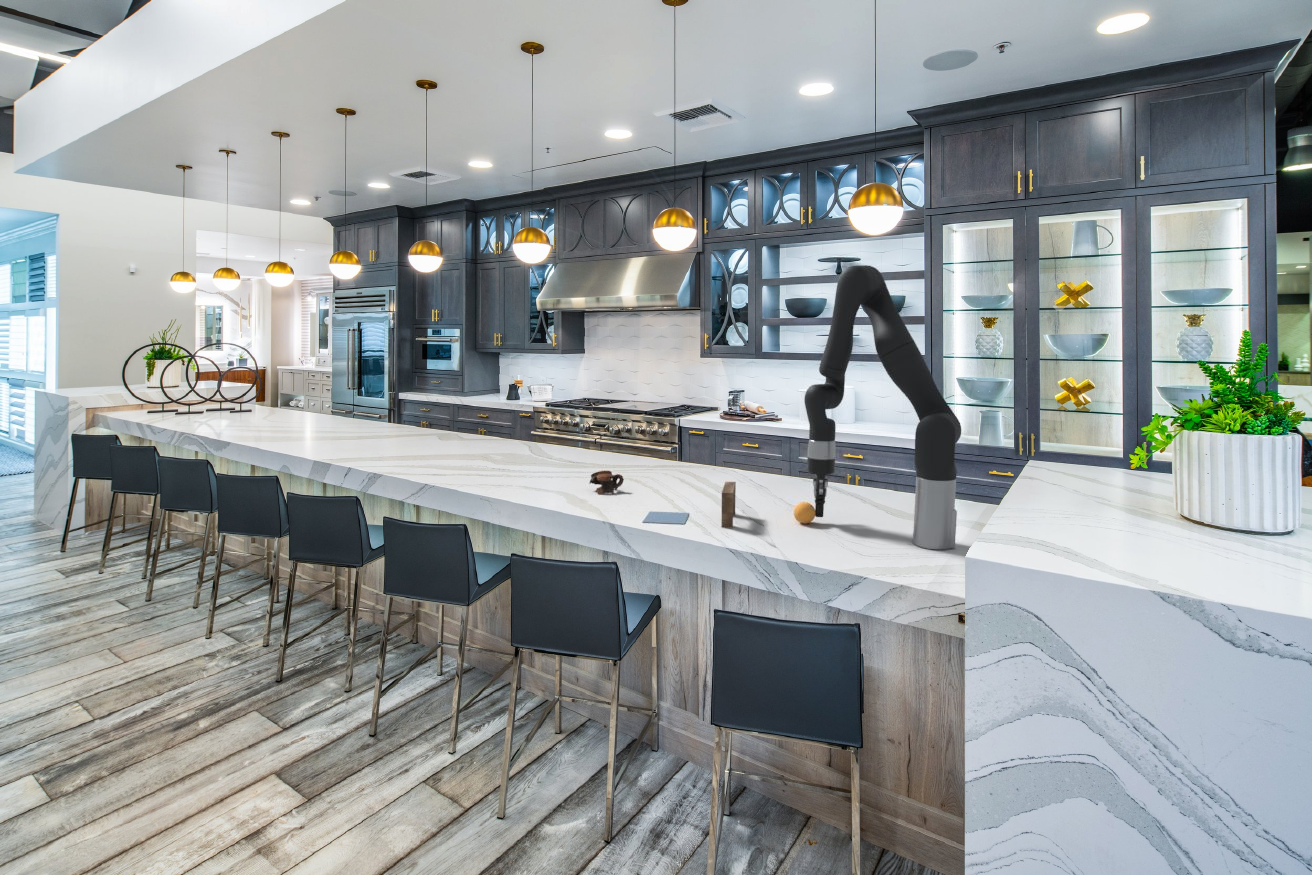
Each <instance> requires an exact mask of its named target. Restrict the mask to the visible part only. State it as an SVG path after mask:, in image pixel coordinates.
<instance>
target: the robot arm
mask: <svg viewBox="0 0 1312 875" xmlns="http://www.w3.org/2000/svg"><path fill="white" fill-rule="evenodd" d="M836 285H837V286H836V289H835V290H836V291H835V297H834V306H833V311H832V315H831V316H832V317H831V322H830V329H829V331H828V332H829V333H828V337H827V340H826V344H825V348H824V350H823V354H822V358H821V360H820V363H819V368H818V371H819V374H820V375H821V376H823V377H825V382H824V383H820V384H819V383H817V384H811V385H810V386H809V387H808V388H807V389H806V392H805V393H804V407H805V412H806V415H807V419H808V420H807V421H808V422H809V423H808V424H809V434H808V438H809V440H808V444H807V463H806V465H807V466H806V470H807V473H808V474H811V475H815V477H813V478H812V484H813V486H812V487H813V496H814V503H815V504H814V509H815V512H816V514H815V518H823V517H824V512H825V511H824V509H825V508H824V506H825V503H826V497H827V493H828V492H827V491H828V485H829V479H828V478H826V475H828V476H829V475H830V476H831V475H833V474H834V473H835V472H836V471H835V470H836V450H837V448H836V447H837V446H836V429H837V428H836V422H835V420H834V419H832V418H829V417H828V415H827V413H826V410H834V409H836V408H838V407H839V406H840V404H841V403H842V401H843V400H844V396H845V383H846V372H847V368H848V365H849V362H850V359H851V357H852V353H853V347H854V346H853V345H854V327H855V326H854V324H855V320H856V317H857V314H858V312H859V309H860V307H862V308H863V309H864V311H865V314H866V315H867V316H868V317H867V318H868V319H869V321H870V323H871V326H872V327H871V328H872V331H873V341H874V346H875V351H876V354H877V356H878V359H879V360H880V362H881V364H882V366H883V367H884V370H885V372H886V373H887V375H888V376H889V379H891V381H892V382H893V383H894V384H895V386H896V387H897V388H898V389H899V390H900V391H901V393H902V394H903V395H904V396H905V397H906V398H907V399H908V400H909V403H910V404H911V405H912V407H913V409H914V412H915V413H916V415H917V418H918V421H919V422H918V423H917V426H916V429H915V435H914V436H915V437H914V465H915V470H916V471H915V472H916V473H915V474H916V475H915V476H916V477H915V492H914V493H915V495H914V496H915V497H914V498H915V499H914V510H913V511H914V513H913V515H914V516H913V533H912V544H913V545H915V546H916V547H919V548H923V549H928V550H949V549H955V548H956V537H957V536H956V534H957V533H956V532H957V518H958V515H957V514H958V511H957V510H956V506H955V505H956V504H955V503H956V490H957V473H958V471H957V467H956V462H955V459H956V458H955V456H956V455H955V454H956V444H957V443H958V441H960V438H961V436H962V425H961V422H960V420H959V419H958V417H957V415H956V414H955V412H953V409H951V407H950V405H948V402H947V401H946V399H945V397H943V395H942V394H941V392H940V390H939V389H938V387H937V384H936V382H935V380H934V378H933V376H932V373H931V371H930V369H929V367H928V365H927V363H926V361H925V359H924V357H923V355H922V353H921V351H920V349H919V347H918V344H916V341H915V340H914V338H913V336H912V334H911V333H910V331H909V330H908V327H907V325H906V323H905V321H903V319H902V317H901V315H900V314H899V312H898V309H897V308H896V306H895V304H894V301H893V299H892V297H891V293H890V291H889V289H888V286H887V283H886V280H885V279H884V277H883V274H882V273H881V272H880V271H879V269H878V268H876V267H874V266H872V265H866V264H865V265H852V266H847V267H846V268H845V269H843V271H842V272H841V273H840V275H839V277H838V281H837V284H836Z"/></svg>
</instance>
